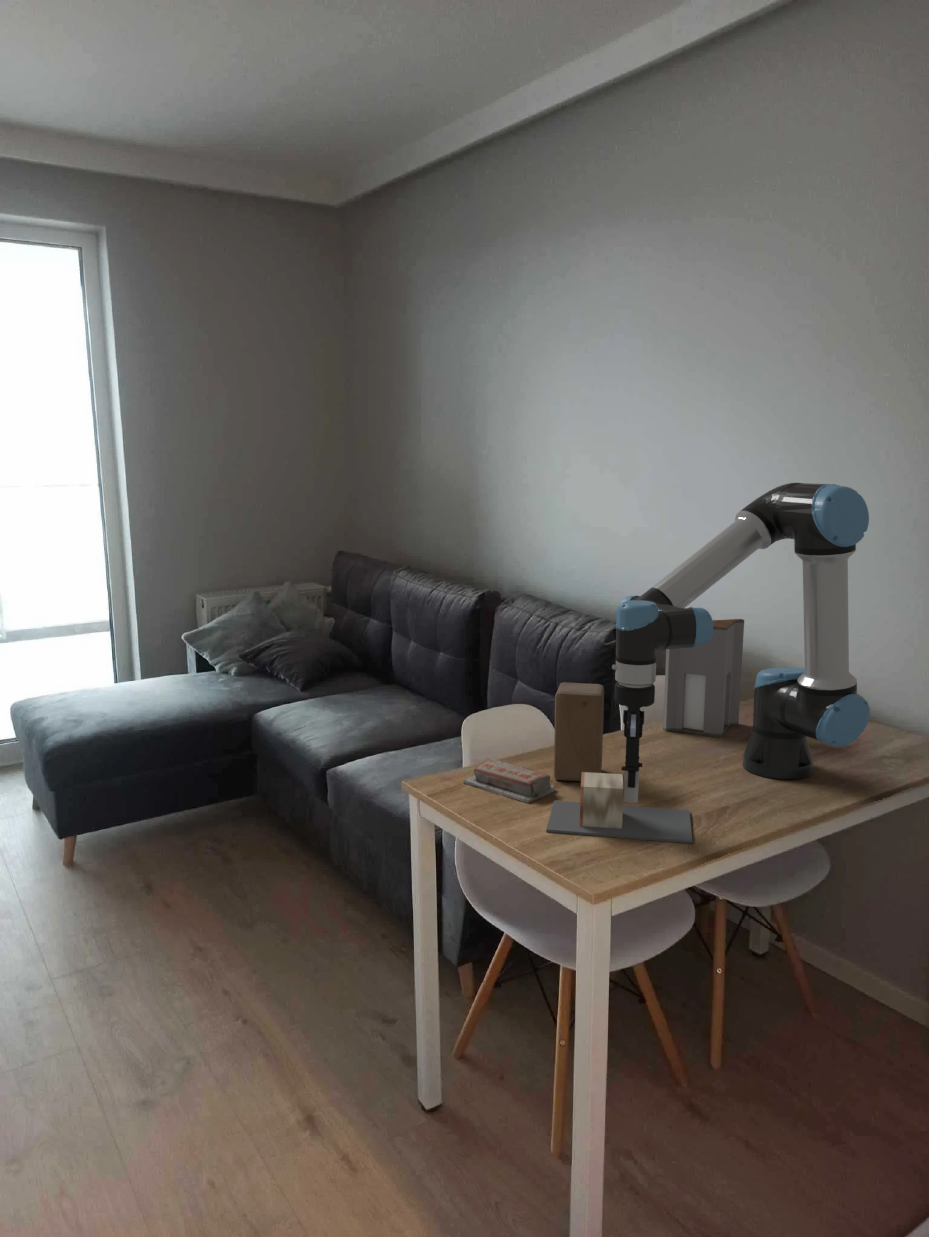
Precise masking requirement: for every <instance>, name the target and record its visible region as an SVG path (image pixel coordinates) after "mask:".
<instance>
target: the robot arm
mask: <svg viewBox="0 0 929 1237" xmlns="http://www.w3.org/2000/svg"><path fill="white" fill-rule="evenodd" d="M868 508H869V507H868V505H867V503H866V501H865V499H864V497H863V496H862V495H861V494H859V493H858V491H857V490H855V489H854V488H852V487H849V486H844V485H840V484H836V483H803V482H789V483H784V484H782V485H779V486H777V487H775V488H772V489H771V490H769V491H767V492H766V493H764V494H761V495H760V496H759V497H758V498H757V497H756V498H755V499H754V500H753V501H751V502H750V503H749V504H747V505H746V506H745V507H743V508H742V509H741V510H739V511H738V512H737V513H736V515H735V518H734V522H732V523H731V524H729V526H727V527H726V528H725V529H724V530H722V531H721V532H719V534H717V535H716V536H715V537H714V538H712V539H711V540H710V541H708V542H707V543H706V544H704V546H702V547H701V548H699V549H698V550H697V551H696V552H694V553H693V554H692V555H691V556H690V557H688V558H687V559H686V560H684V561H682V563H681V564H680V565H678V566H676V568H674V569H673V570H672V571H671V572H670V573H668V574H667V575H666V576H664V577H663V578H662V579H660V580H659V581H658V582H657V583H655V584H654V585H653V586H652V587H651V588H649V589H647V590H646V591H645V592H644V593H643V594H641V595H637V594H635V595H629V596H627V597H624V598H623V599H621V600H620V602H619V603H618V605H617V607H616V612H615V618H616V623H615V628H616V630H615V633H616V634H615V635H616V636H615V664H612V665H611V669H612V670H613V671H615V674H614V675H615V681H616V682H615V684H614V701H615V703H616V704H617V705H620V706H623V707H626V708H627V709H623V714H622V723H623V736H624V737H625V738H626V739H625V756H624V757H625V761H624V765H625V766H621V769H620V770H621V771H624V776H623V777H624V778H623V803H631V804H632V803H634V804H638V803H639V785H640V784H639V782H640V781H639V780H640V779H639V777H640V768H643V763H642V762H639V761H640V739H641V738H642V737H643V727H644V726H643V725H645V724H644V723H645V711H644V710H641V708H647V707H650V706H652V705H653V704H654V703H655V696H656V686H655V685H654V683H655V682H656V679H657V678H656V677H657V652H658V651H664V650H665V651H666V650H667V649H678V648H693V647H697V646H702V645H705V644H707V643H708V642H709V641H710V640H711V638H712V635H713V627H714V625H713V620H714V619H713V618H712V615H711V614H710V612H709V611H708V610H707V609H705V608H704V607H693V606H690V607H687V606H689V605H690V604H691V603H692V602H694V601H695V600H696V599H698V598H699V597H700V596H701V595H703V594H704V593H705V592H706V591H708V590H709V589H710V588H711V587H713V586H714V585H715V584H716V583H717V582H719V581H720V580H722V579H723V578H724V577H725V576H726V575H727V574H729V573H730V572H732V571H733V570H735V568H736V567H738V566H739V565H740V564H741V563H743V562H744V561H745V560H747V558H749V557H750V556H751V555H753V554H754V553H755V552H756V551H757V550H758V549H759V550H766V549H768V548H769V547H770V546H772V545H773V544H775V543H776V542H778V541H781V540H787V539H790V540H793V542H794V543H793V544H794V545H793V546H794V555H796V556H797V557H798V559H800V560H801V561H802V591H803V592H802V594H803V595H802V597H803V601H802V602H803V603H802V604H803V643H804V644H803V645H804V647H803V650H804V668H800V667H772V668H765V669H762V670H760V671H759V672H758V673H757V674H756V678H755V683H754V684H755V685H754V687H753V688H754V690H753V693H754V695H753V715H752V717H753V718H752V733H751V736H750V737H749V741H748V742H747V745H746V747H745V750H744V753H743V755H742V767H743V768H744V769H745V770H746V771H748V772H750V773H752V774H753V775H754V774H755V775H757V776H761V777H765V778H771V779H778V780H797V779H798V780H799V779H804V778H808V777H810V776H811V775H813V772H814V771H813V770H814V761H813V757H812V753H811V749H810V746H809V742H808V738H810V739H813V740H815V741H818V742H819V743H821V744H824V745H830V746H833V747H835V748H836V747H839V748H840V747H841V748H842V747H846V746H848V745H851V744H852V743H854V742H855V741H856V740H858V739H859V737H861V735H862V734H863V733H864V732H865V730H866V729H867V727H868V723H869V722H870V721H869V720H870V717H871V711H870V710H871V709H870V705H869V702H868V701H867V700H866V698H864V697H863V695H860V694H858V679H857V678H856V677H855V676H854V675H853V674H852V673H851V672H850V658H849V656H850V653H849V652H850V651H849V650H850V649H849V647H850V645H849V642H850V641H849V634H850V633H849V568H848V567H849V562H848V561H849V558H851V556H853V555H854V554H855V552H856V551H857V544H858V543H859V542H861V541H862V539H864V537H865V532H867V530H868V527H869V523H870V513H869V509H868ZM686 607H687V608H686Z"/></svg>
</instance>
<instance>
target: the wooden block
mask: <svg viewBox="0 0 929 1237" xmlns="http://www.w3.org/2000/svg"><path fill="white" fill-rule="evenodd" d="M604 700H605V688H604V685H602V684H599V683H584V682H583V683H581V682H579V683H578V682H565V681H564V682H560V683H559V685H558V687H557V691H556V693H555V696H554V706H555V707H554V740H553V742H554V744H553V753H554V754H553V777H554V779H555V780H557V781H568V782H569V781H571V782H581V775H582V772H590V773H602V769H603V768H602V767H603V743H604V742H603V740H604V738H603V737H604V708H605V706H604V705H605V704H604V703H605V702H604Z"/></svg>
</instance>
